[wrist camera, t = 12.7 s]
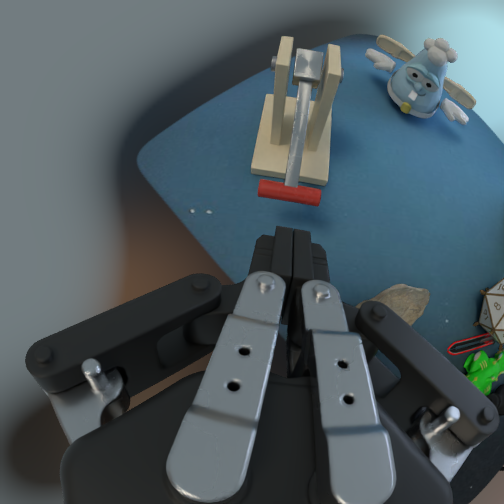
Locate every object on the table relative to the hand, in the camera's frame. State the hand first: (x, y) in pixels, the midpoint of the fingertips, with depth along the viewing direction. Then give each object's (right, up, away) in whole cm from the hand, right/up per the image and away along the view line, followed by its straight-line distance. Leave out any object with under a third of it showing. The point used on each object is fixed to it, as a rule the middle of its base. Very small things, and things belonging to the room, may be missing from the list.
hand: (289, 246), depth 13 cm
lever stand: (+3, +13, +18) cm, 22 cm away
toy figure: (+20, +20, +20) cm, 35 cm away
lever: (+2, +10, +10) cm, 14 cm away
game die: (+27, -8, +13) cm, 31 cm away
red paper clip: (+27, -11, +12) cm, 31 cm away
